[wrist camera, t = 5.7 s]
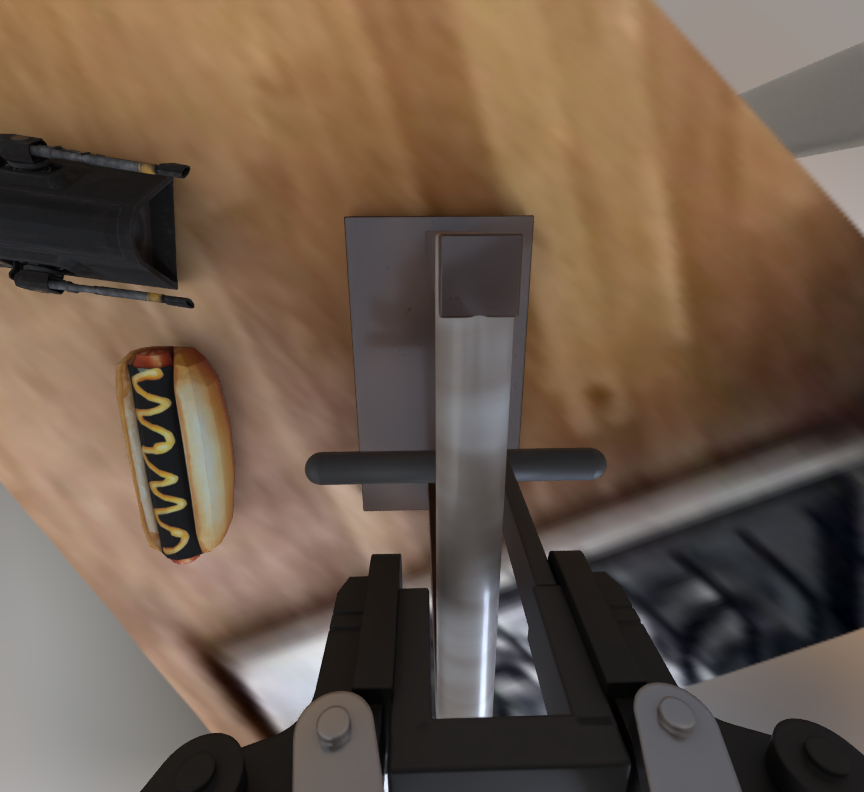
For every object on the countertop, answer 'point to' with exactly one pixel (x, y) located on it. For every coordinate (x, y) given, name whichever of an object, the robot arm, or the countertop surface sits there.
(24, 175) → the black toy vehicle
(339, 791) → the robot arm
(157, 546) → the hot dog
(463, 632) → the rail stand
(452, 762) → the hanger
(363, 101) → the countertop surface
